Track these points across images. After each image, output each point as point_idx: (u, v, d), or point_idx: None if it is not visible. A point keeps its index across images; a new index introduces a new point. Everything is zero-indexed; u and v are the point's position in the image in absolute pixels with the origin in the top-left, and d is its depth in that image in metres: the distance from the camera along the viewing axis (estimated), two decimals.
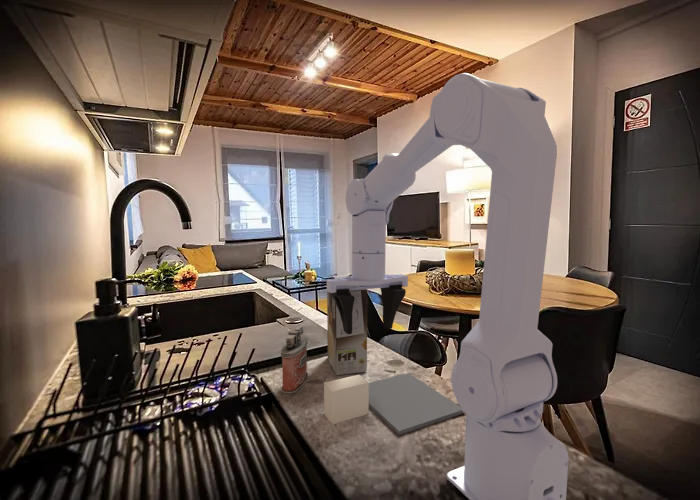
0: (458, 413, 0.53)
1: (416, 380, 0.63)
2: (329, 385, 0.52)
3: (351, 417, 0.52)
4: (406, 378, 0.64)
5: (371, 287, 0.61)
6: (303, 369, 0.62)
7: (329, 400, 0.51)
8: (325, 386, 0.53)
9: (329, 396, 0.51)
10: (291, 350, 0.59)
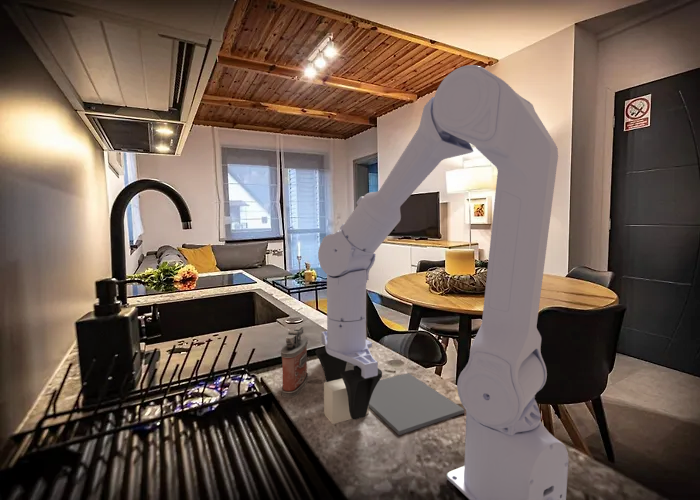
0: (458, 413, 0.53)
1: (416, 380, 0.63)
2: (329, 385, 0.52)
3: None
4: (406, 378, 0.64)
5: None
6: (303, 369, 0.62)
7: (329, 400, 0.52)
8: (325, 386, 0.53)
9: (329, 395, 0.51)
10: (292, 350, 0.59)
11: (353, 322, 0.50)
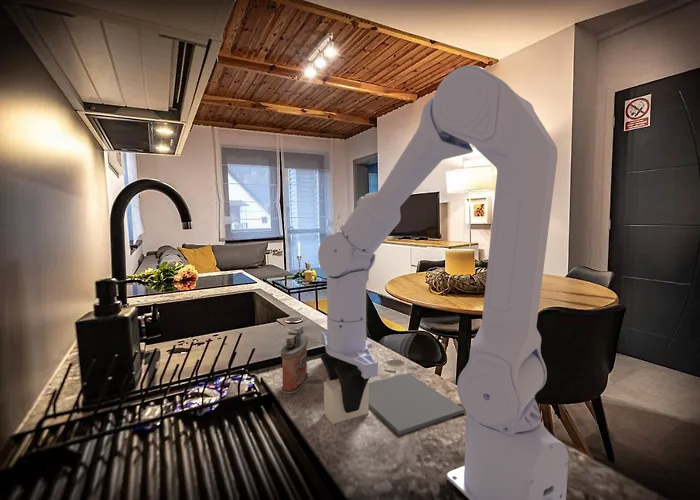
0: (458, 413, 0.53)
1: (416, 380, 0.63)
2: (329, 384, 0.52)
3: (351, 416, 0.52)
4: (406, 378, 0.64)
5: None
6: (303, 369, 0.62)
7: (329, 399, 0.52)
8: (325, 385, 0.53)
9: (329, 395, 0.51)
10: (292, 350, 0.59)
11: (353, 322, 0.50)
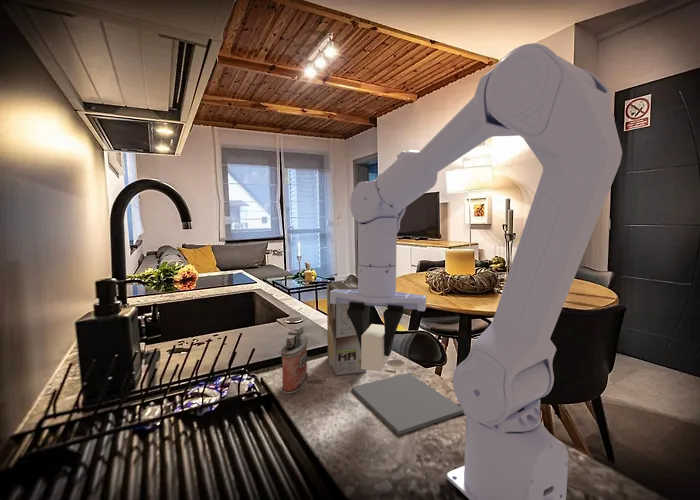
0: (458, 413, 0.53)
1: (416, 380, 0.63)
2: (369, 335, 0.52)
3: (385, 361, 0.54)
4: (406, 378, 0.64)
5: (379, 305, 0.53)
6: (303, 369, 0.62)
7: (374, 349, 0.51)
8: (364, 338, 0.52)
9: (374, 344, 0.51)
10: (291, 350, 0.59)
11: (395, 266, 0.52)
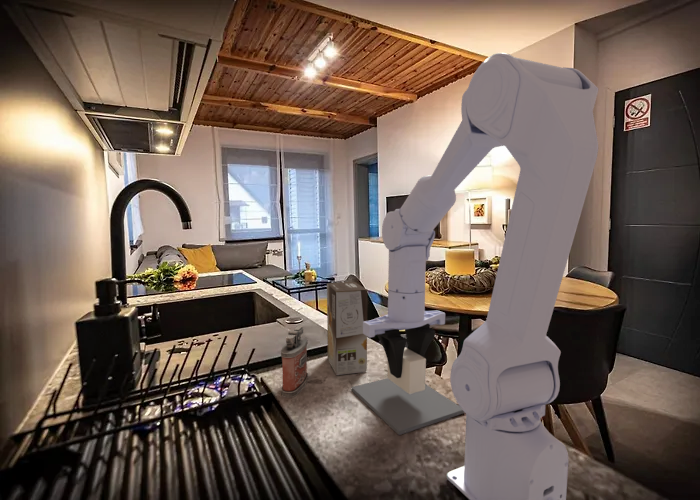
0: (458, 413, 0.53)
1: None
2: (414, 359, 0.54)
3: None
4: None
5: (409, 327, 0.56)
6: (303, 369, 0.62)
7: (420, 371, 0.54)
8: (412, 363, 0.53)
9: (420, 367, 0.54)
10: (291, 350, 0.59)
11: None
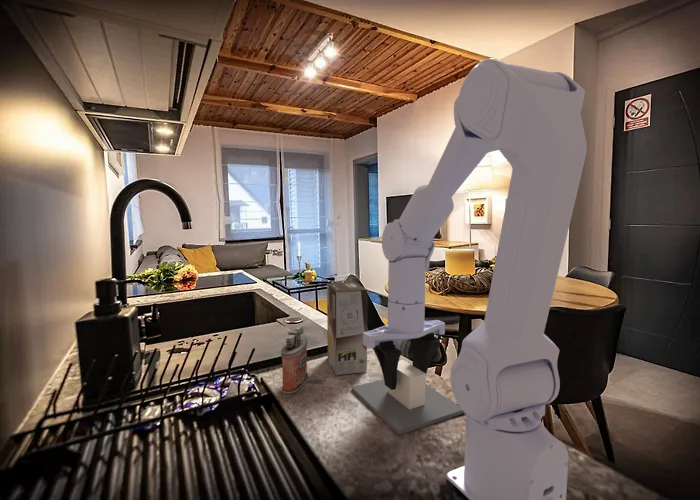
0: (458, 413, 0.53)
1: None
2: (414, 375, 0.54)
3: None
4: None
5: None
6: (303, 369, 0.62)
7: (420, 386, 0.54)
8: (412, 379, 0.54)
9: (420, 382, 0.54)
10: (291, 350, 0.59)
11: None
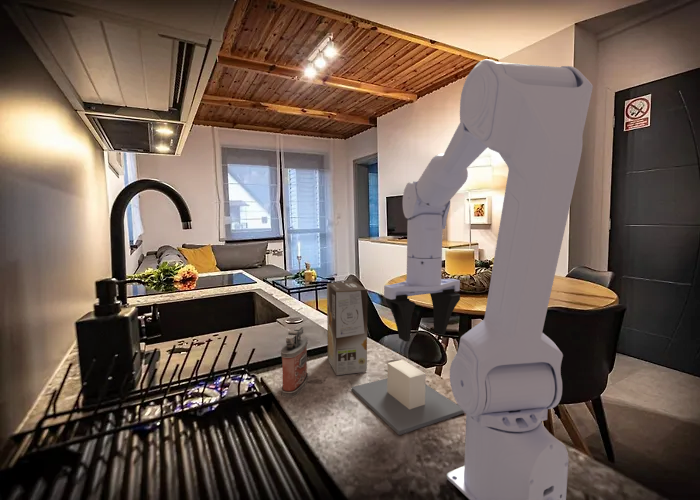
0: (458, 413, 0.53)
1: None
2: (414, 375, 0.54)
3: None
4: None
5: (426, 292, 0.60)
6: (303, 369, 0.62)
7: (420, 386, 0.54)
8: (412, 379, 0.54)
9: (420, 382, 0.54)
10: (291, 350, 0.59)
11: None
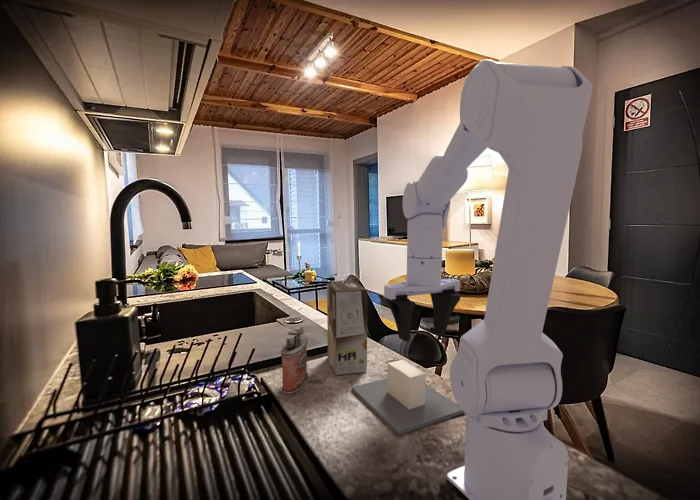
0: (458, 413, 0.53)
1: None
2: (414, 375, 0.54)
3: None
4: None
5: (426, 292, 0.60)
6: (303, 369, 0.62)
7: (420, 386, 0.54)
8: (412, 379, 0.54)
9: (420, 382, 0.54)
10: (291, 350, 0.59)
11: None
